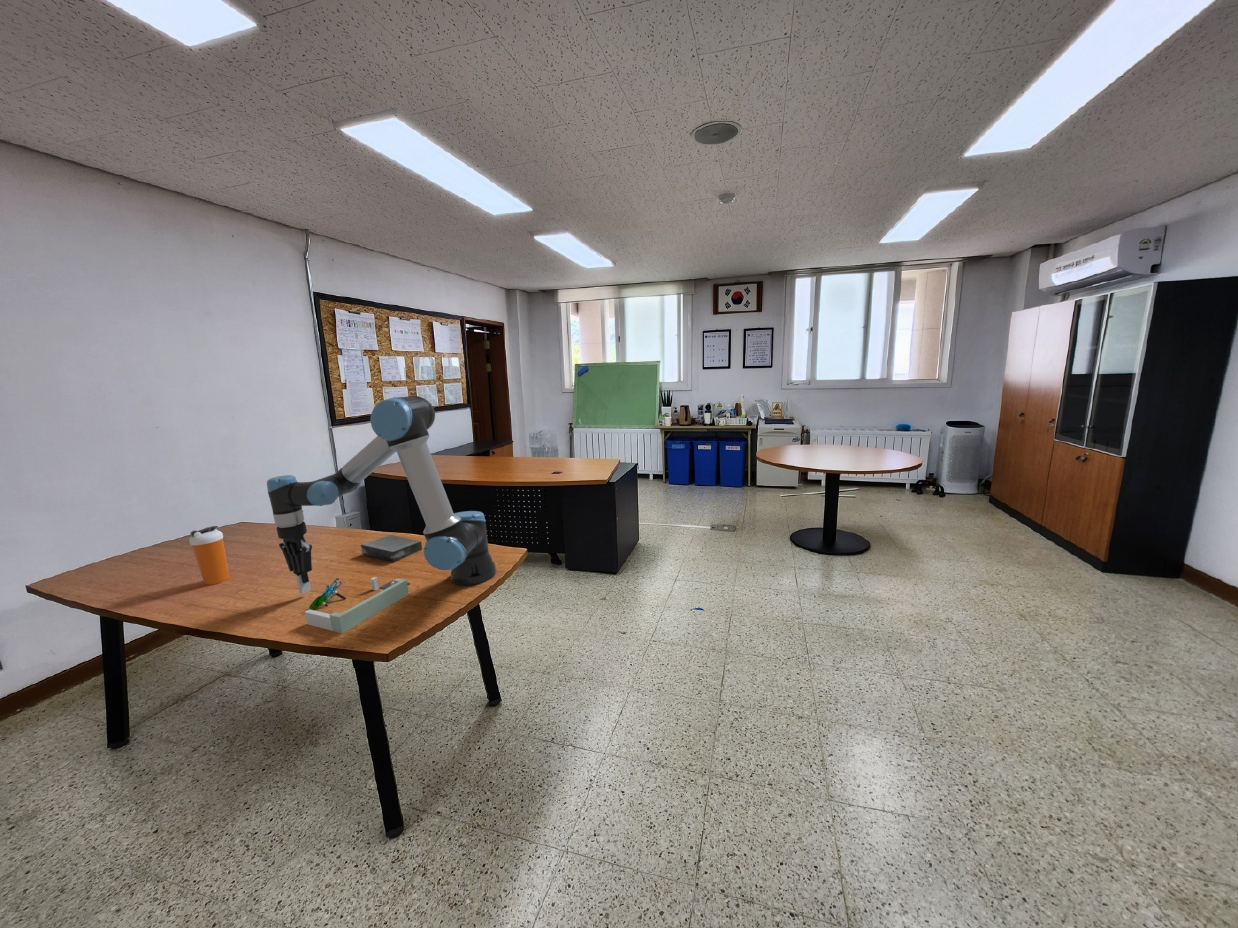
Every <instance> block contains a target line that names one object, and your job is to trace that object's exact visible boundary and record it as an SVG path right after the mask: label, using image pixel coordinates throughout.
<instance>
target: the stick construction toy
mask: <svg viewBox="0 0 1238 928" xmlns="http://www.w3.org/2000/svg"><path fill="white" fill-rule="evenodd" d="M339 580H340V579H339V578H338V577H336V578H335V579H334V581H333V582H332V583H331V584H330V585H328V584H326V585H325V591H324V592H322V594H321V595H318V596H317V597H316V598H315V599H314V600H313V601H312V602H311V604H310V606H309V607H308V608H309V609H310V610H314V609H315V608H316V607H320V606H323V607H325V608H327V607H328V606H329V604H327V603H326V602H327V601H328V600H329V598H330V597H331V596H334V597H335V596H337V598H338V597H339V598H341V599H342V600H344V601H345V600H346V599H347V597H346V596H344V595H342V594H341V593H339V592H338V590H337V589H339V587H341V585H342V584H343V582H342V581H339ZM338 581H339V584H338ZM309 609H308V610H309Z"/></svg>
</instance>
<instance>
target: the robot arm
mask: <svg viewBox="0 0 1238 928" xmlns="http://www.w3.org/2000/svg"><path fill="white" fill-rule="evenodd" d="M435 419H436V412H435V407H433V405H432V403H430V401H429V400H427V399H426V398H424V397H421V396H418V395H409V396H399V397H398V396H396V397H395V396H393V397H389V398H387V399H384V400H381V401H379V402H378V403H377V404H376V405H374V407H373V409H372V411H371V413H370V424H371V425H370V426H371V428H372V431H373V432H374V434H375V435H377V436H375V438H373V439H372V440H371V441H370V442H369V443H368V444H366V446H364V447H363V448H362V449H361V450H360V451H359V452H358V453H357V454H355V455H354V456H353V457H352V458H351V459H350V460H348V462H346V463H345V464H343V466H342V467H341V468H340V469H338V470H337V471H336V472H335V473H333V474H331V475H328V476H325V477H322V478H319V479H316V480H312V481H303V482H301V481H298V480H297V479H296V476H295V475H292V474H287V475H280V476H274V477H271V478H269V479H268V480H266V488H267V494H268V498H269V501H270V505H271V510H272V516H273V521H274V524H275V527H276V526H277V527H276V532H277V533H276V534H277V537H278V539H280V540H282V541H283V542H281V543H279V544H278V546H279V548H280V549H281V551H282V553H283V556H284V560H285V562H286V564H287V567H288V570H289V572H292V573H293V575H295V578H296V582H297V588H298V593H299V594H302V595H303V594H306V593H307V592H309V591H311V590H312V589H311V584H310V579H309V574H308V573H309V572H311V571H312V570H313V567H312V565H313V564H312V563H313V562H312V549H313V546H312V544H307V543H306V542H307V541H306V539H305V536H304V535H305V534H306V533H307V532H308V531H307V525H306V522H305V521H304V520H305V516H304V510H303V507H308V506H309V507H311V506H312V507H313V506H314V507H315V506H317V507H322V506H328V505H330V506H331V505H333V504H334V503H335V502H336V500H337V499H338V498H339V497H342V496H343V495H346V494H349V493H352V492H354V491H355V490H357V489H359V488H360V486H361V484H362V482H363V481H364V480H365V479H366V478H367V477H368V476H370V475H372V473H374V471H376V470H377V469H378V468H379V467H380V466H381V465H382V464H384V463H385V462H386V461H387V460H389V458H391V457H392V456H393V455H394V454H396V453H397V456H398V458H399V461H400V463H401V465H402V469H403V472H404V473H405V476H406V479H407V481H408V483H409V487H410V489H411V491H412V493H413V495H414V498H415V501H416V503H417V505H418V508H419V511H420V514H421V516H422V518H423V520H424V523H425V528H424V530H423V531H422V533H423V535H424V538H425V540H426V542H425V544H424V548H423V556H424V558H425V560H426V562H427V563H428V565H430V566H431V567H433V568H435V569H437V570H439V571H440V570H441V571H450V579H451V582H452V583H454V584H455V585H460V586H472V585H476V584H477V585H478V584H480V583H484V582H485V581H488V580H490V579H492V578H494V576H496V573H497V566H496V563H495V562H494V560H493V558H492V556H491V554H490V550H489V543H488V542H489V540H488V535H487V525H486V519H485V515H484V514H485V513H483V512H482V511H477V510H468V511H459V512H455V513H454V511H453V508H452V505H451V503H450V500H449V498H448V495H447V492H446V490H445V488H444V485H443V482H442V479H441V477H440V475H439V471H438V469H437V467H436V464H435V461H434V459H433V456H432V454H431V453H432V452H431V451H430V448H429V445H428V443H427V442H428V440H429V438H430V434H429V431H428V430H429V429H430V428H431V427H432V426H433V424H434V422H435Z"/></svg>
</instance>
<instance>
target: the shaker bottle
mask: <svg viewBox="0 0 1238 928" xmlns="http://www.w3.org/2000/svg"><path fill="white" fill-rule="evenodd" d="M218 527H219V526H218V525H214V526H213V525H212V526H208V527H205V528H202V529H199V530H196V529H195V530H191V532H190V537H189V539H188V540H189V546H190V547H191V548H192V551H193V555H194V557H195V560H196V563H197V567H198V570H199V572H200V575H201V578H202V581H203V583H204V585H206V586H211V585H212V584H213V585H216V584H217V585H218V584H220V583H224V582H226V581H227V580H229V579H230V577H231V576H230V575H231V574H230V571H229V570H230V569H229V565H228V558H227V555H226V554H227V553H226V548H225V542H224V533H223V532H222V531H220V530H218ZM223 581H224V582H223ZM213 585H212V586H213Z"/></svg>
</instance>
